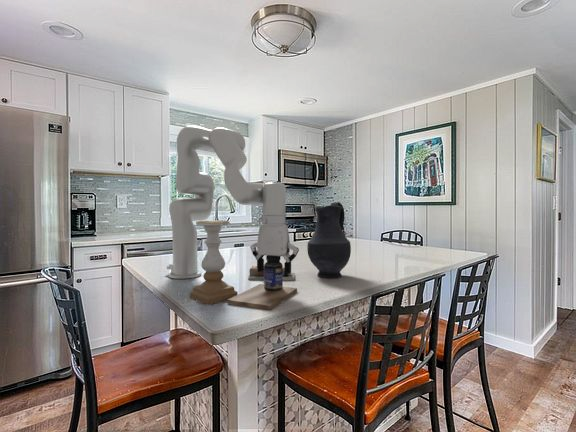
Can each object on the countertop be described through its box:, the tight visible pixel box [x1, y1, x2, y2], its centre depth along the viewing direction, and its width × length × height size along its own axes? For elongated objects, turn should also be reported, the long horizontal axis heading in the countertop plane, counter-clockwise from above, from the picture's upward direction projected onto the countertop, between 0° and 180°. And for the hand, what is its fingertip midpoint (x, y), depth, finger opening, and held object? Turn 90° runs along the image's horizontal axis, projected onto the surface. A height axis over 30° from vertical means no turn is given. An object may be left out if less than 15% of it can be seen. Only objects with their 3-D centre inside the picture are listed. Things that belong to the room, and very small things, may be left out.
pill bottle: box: [263, 255, 284, 291], centre depth 106 cm, size 6×6×11 cm
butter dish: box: [247, 265, 296, 281], centre depth 128 cm, size 18×5×10 cm
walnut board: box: [226, 283, 298, 311], centre depth 100 cm, size 14×20×1 cm
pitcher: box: [306, 201, 352, 279], centre depth 131 cm, size 17×21×30 cm
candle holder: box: [189, 220, 238, 306], centre depth 100 cm, size 11×11×24 cm
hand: (273, 272), depth 105 cm, fingers open, 9 cm apart
